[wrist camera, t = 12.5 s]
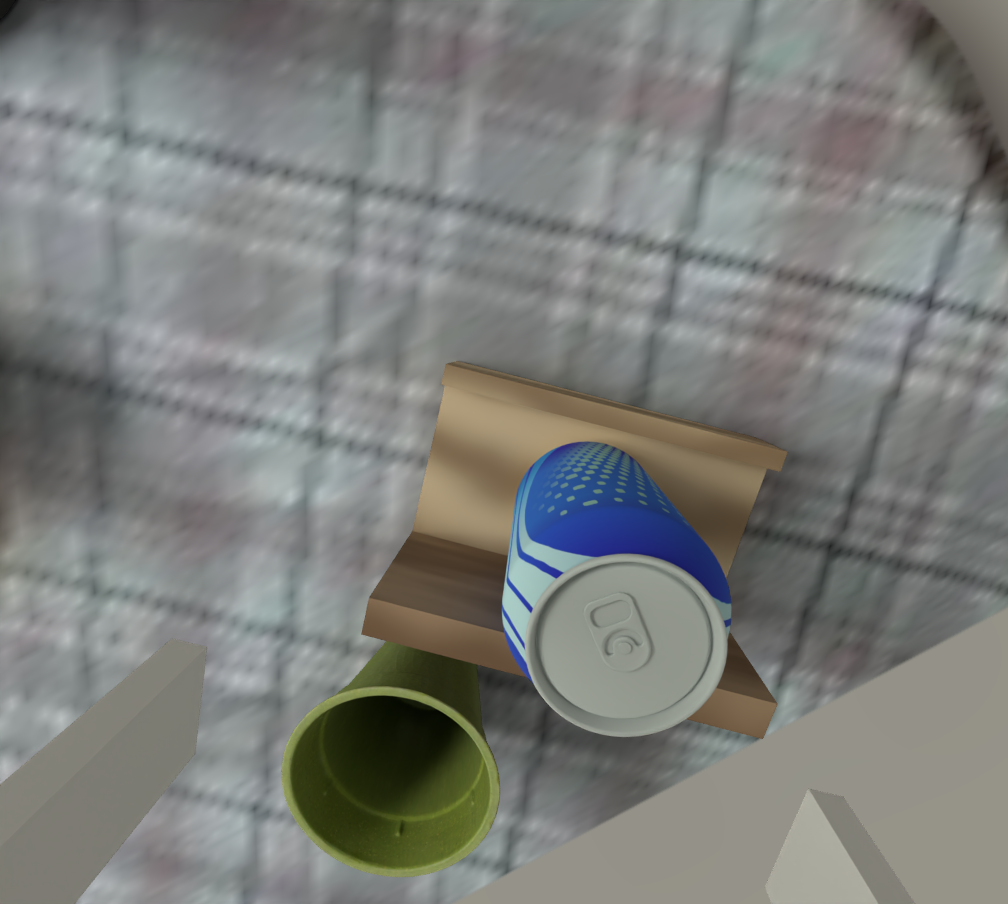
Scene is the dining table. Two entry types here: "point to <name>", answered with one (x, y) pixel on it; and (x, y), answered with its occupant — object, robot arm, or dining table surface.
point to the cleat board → (490, 507)
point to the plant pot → (395, 766)
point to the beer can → (612, 595)
